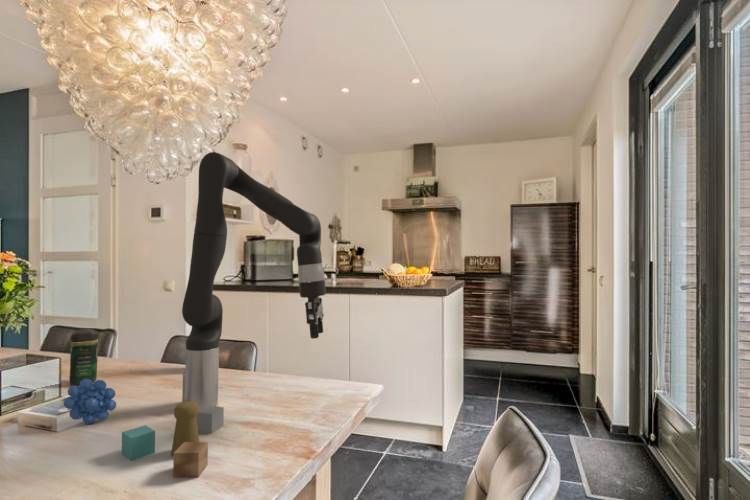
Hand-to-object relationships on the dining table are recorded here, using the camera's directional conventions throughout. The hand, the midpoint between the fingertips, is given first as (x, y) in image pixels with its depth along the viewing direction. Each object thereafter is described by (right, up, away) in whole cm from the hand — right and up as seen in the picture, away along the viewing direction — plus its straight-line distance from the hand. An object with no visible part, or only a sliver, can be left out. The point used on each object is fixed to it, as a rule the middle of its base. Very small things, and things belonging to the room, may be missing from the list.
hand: (317, 335), depth 122 cm
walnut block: (-21, -21, -35) cm, 46 cm away
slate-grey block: (-26, -21, -14) cm, 36 cm away
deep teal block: (-37, -21, -28) cm, 50 cm away
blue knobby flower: (-58, -21, -12) cm, 63 cm away
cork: (-26, -21, -27) cm, 43 cm away
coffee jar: (-86, -22, +25) cm, 92 cm away
